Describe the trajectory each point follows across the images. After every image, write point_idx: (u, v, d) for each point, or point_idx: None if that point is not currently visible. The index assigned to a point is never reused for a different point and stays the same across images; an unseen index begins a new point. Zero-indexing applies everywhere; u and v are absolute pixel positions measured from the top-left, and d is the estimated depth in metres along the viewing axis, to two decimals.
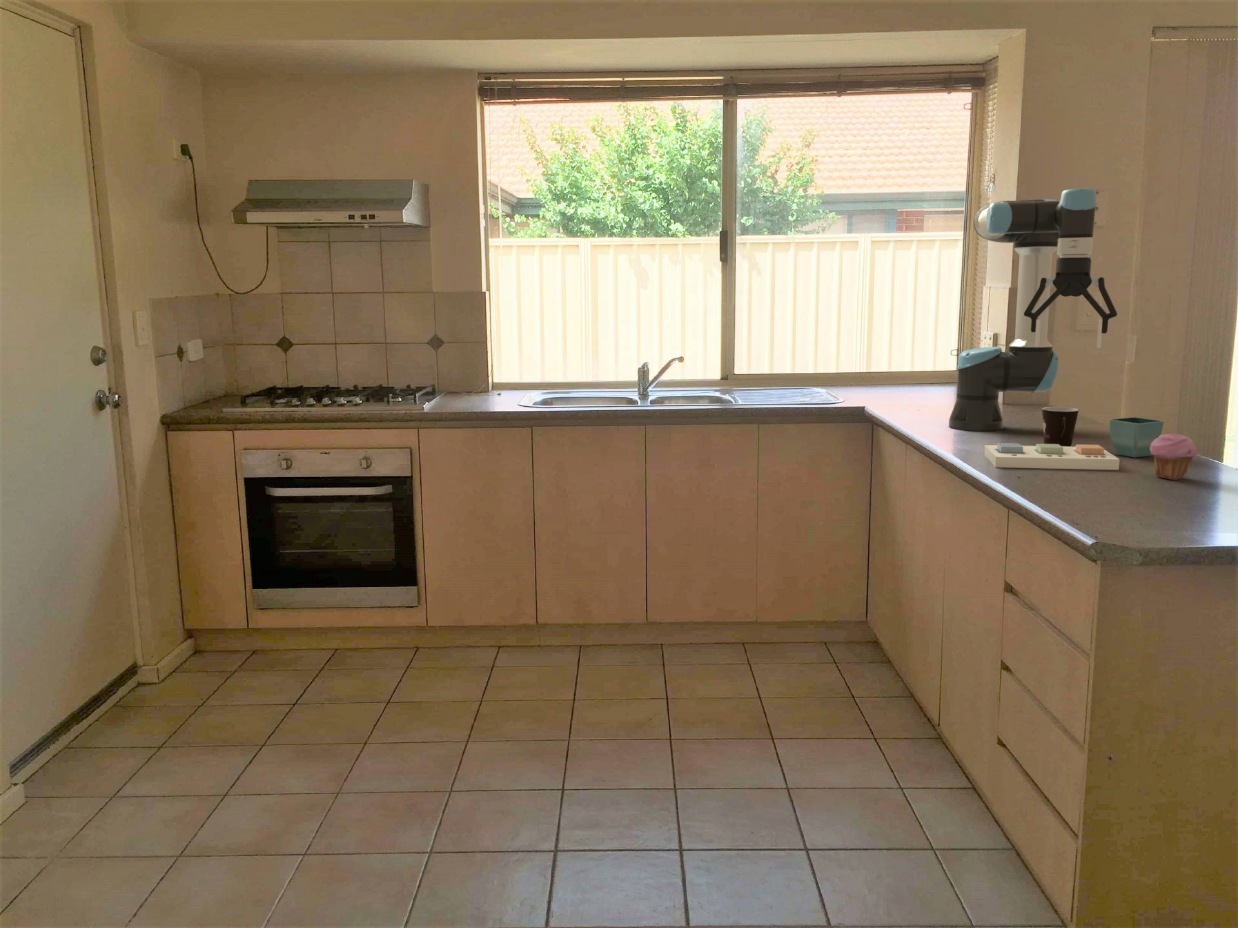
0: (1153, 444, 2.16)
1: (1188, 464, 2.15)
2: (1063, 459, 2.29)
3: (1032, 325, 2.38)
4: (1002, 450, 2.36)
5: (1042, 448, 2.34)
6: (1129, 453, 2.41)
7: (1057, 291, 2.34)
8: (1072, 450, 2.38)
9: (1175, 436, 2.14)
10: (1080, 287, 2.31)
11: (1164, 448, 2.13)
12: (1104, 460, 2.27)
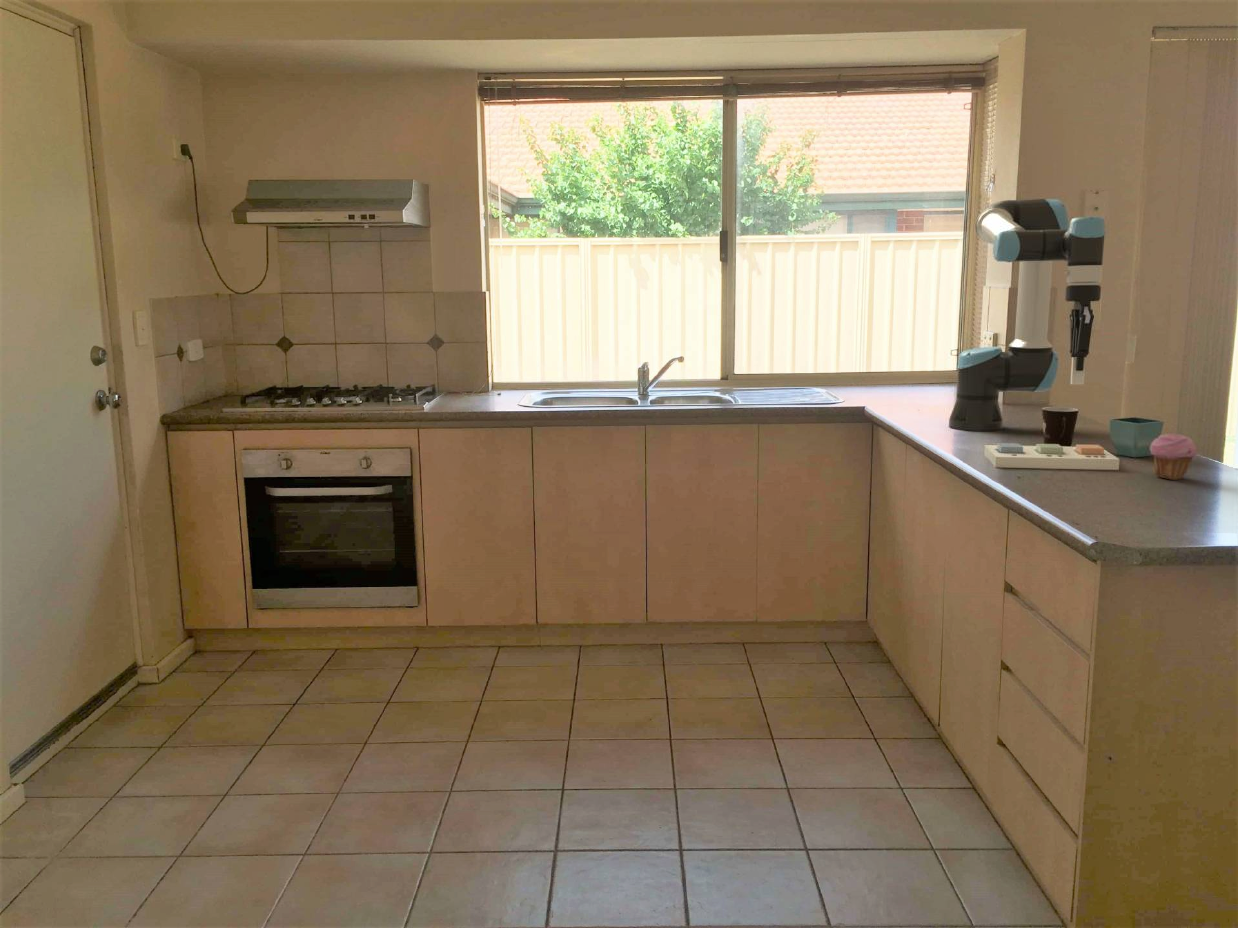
0: (1153, 444, 2.16)
1: (1188, 464, 2.15)
2: (1063, 459, 2.29)
3: None
4: (1002, 450, 2.36)
5: (1042, 448, 2.34)
6: (1129, 453, 2.41)
7: (1072, 321, 2.35)
8: (1072, 450, 2.38)
9: (1175, 436, 2.14)
10: (1074, 316, 2.32)
11: (1164, 448, 2.13)
12: (1104, 460, 2.27)
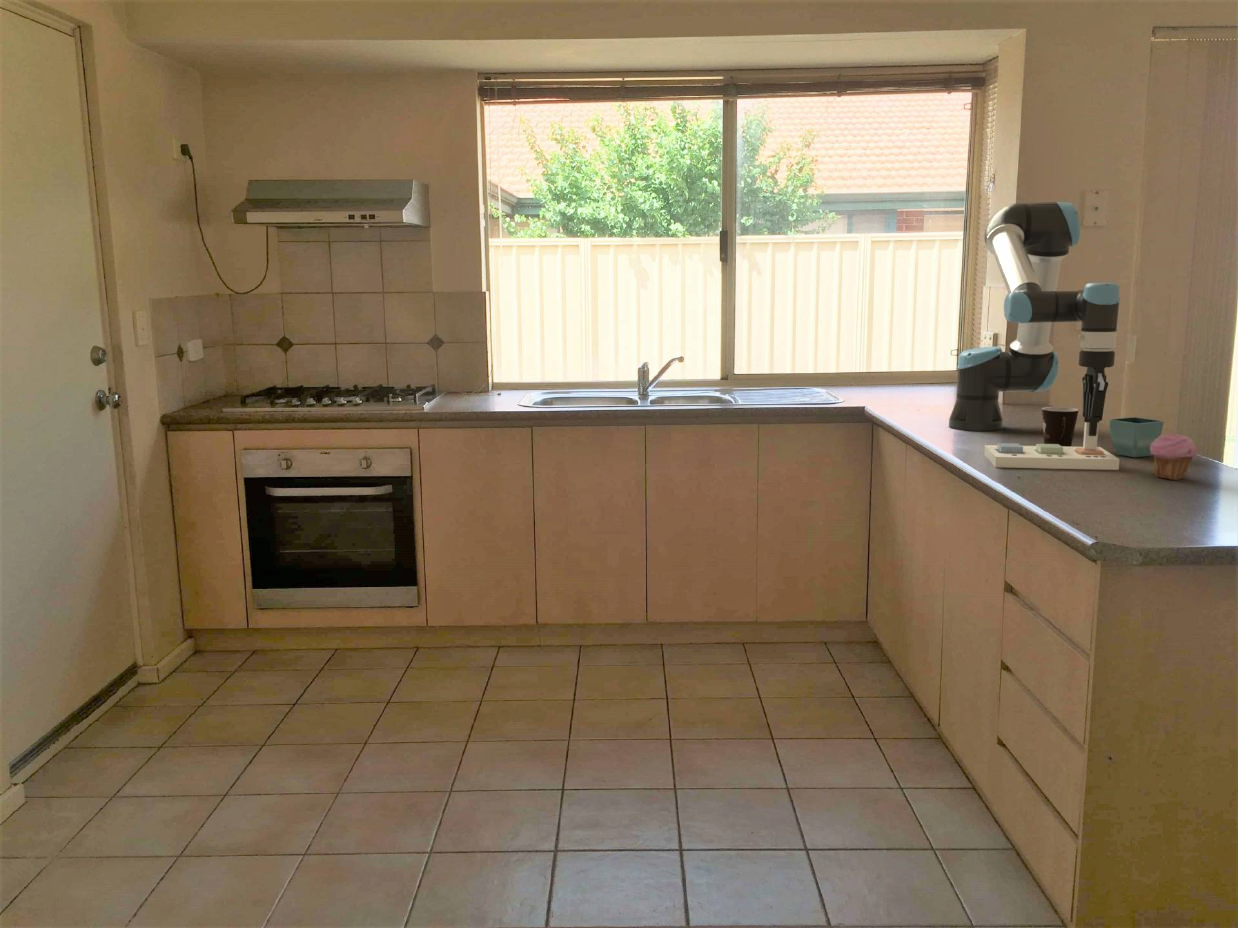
0: (1153, 444, 2.16)
1: (1188, 464, 2.15)
2: (1063, 459, 2.29)
3: None
4: (1002, 450, 2.36)
5: (1042, 448, 2.34)
6: (1129, 453, 2.41)
7: (1085, 385, 2.33)
8: (1072, 450, 2.38)
9: (1175, 436, 2.14)
10: (1088, 381, 2.30)
11: (1164, 448, 2.13)
12: (1104, 460, 2.27)
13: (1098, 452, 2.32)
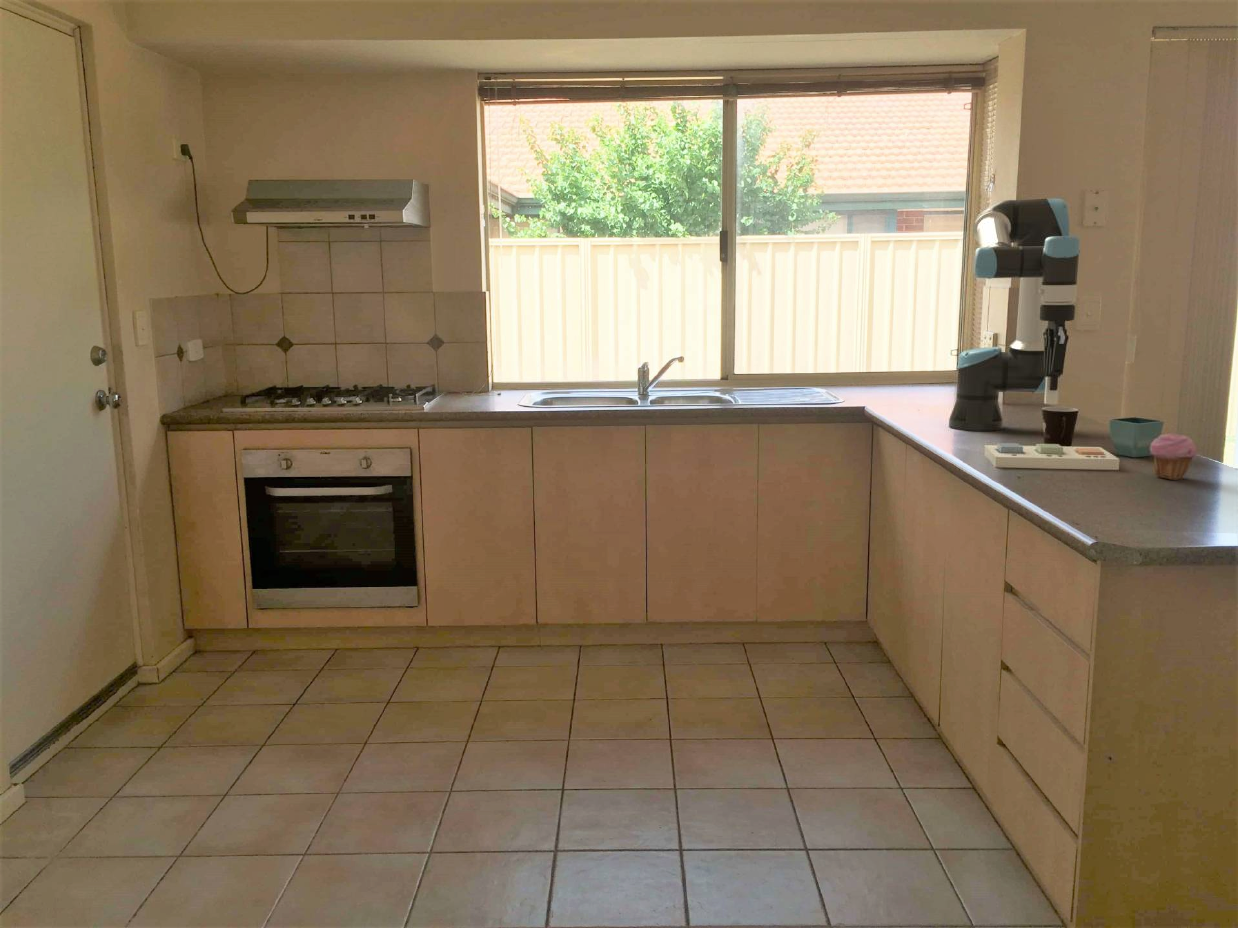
0: (1153, 444, 2.16)
1: (1188, 464, 2.15)
2: (1063, 459, 2.29)
3: None
4: (1002, 450, 2.36)
5: (1042, 448, 2.34)
6: (1129, 453, 2.41)
7: (1046, 340, 2.33)
8: (1072, 450, 2.38)
9: (1175, 436, 2.14)
10: (1048, 336, 2.30)
11: (1164, 448, 2.13)
12: (1104, 460, 2.27)
13: (1098, 452, 2.32)
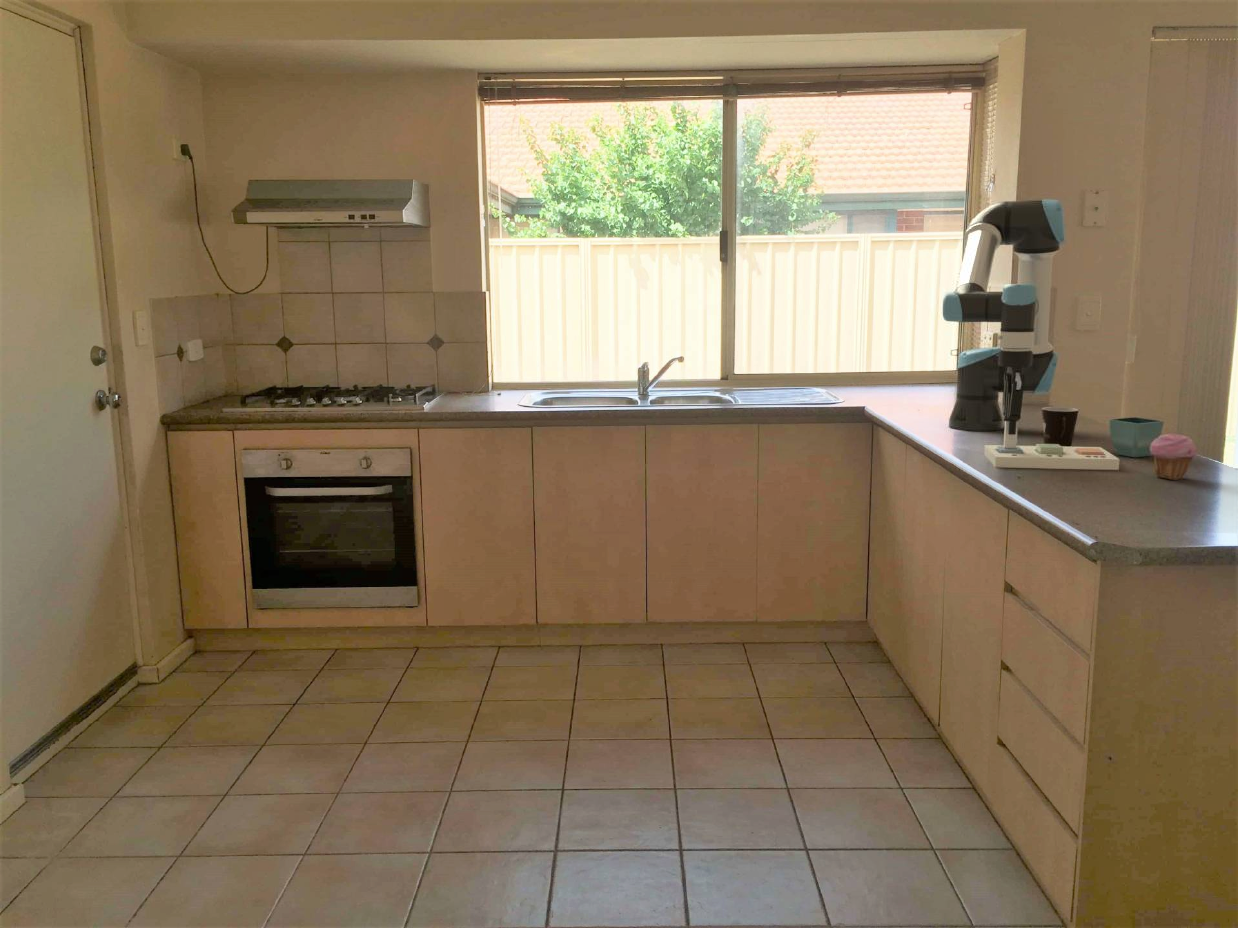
0: (1153, 444, 2.16)
1: (1188, 464, 2.15)
2: (1063, 459, 2.29)
3: None
4: None
5: (1042, 448, 2.34)
6: (1129, 453, 2.41)
7: (1005, 385, 2.37)
8: (1072, 450, 2.38)
9: (1175, 436, 2.14)
10: (1007, 381, 2.34)
11: (1164, 448, 2.13)
12: (1104, 460, 2.27)
13: (1098, 452, 2.32)
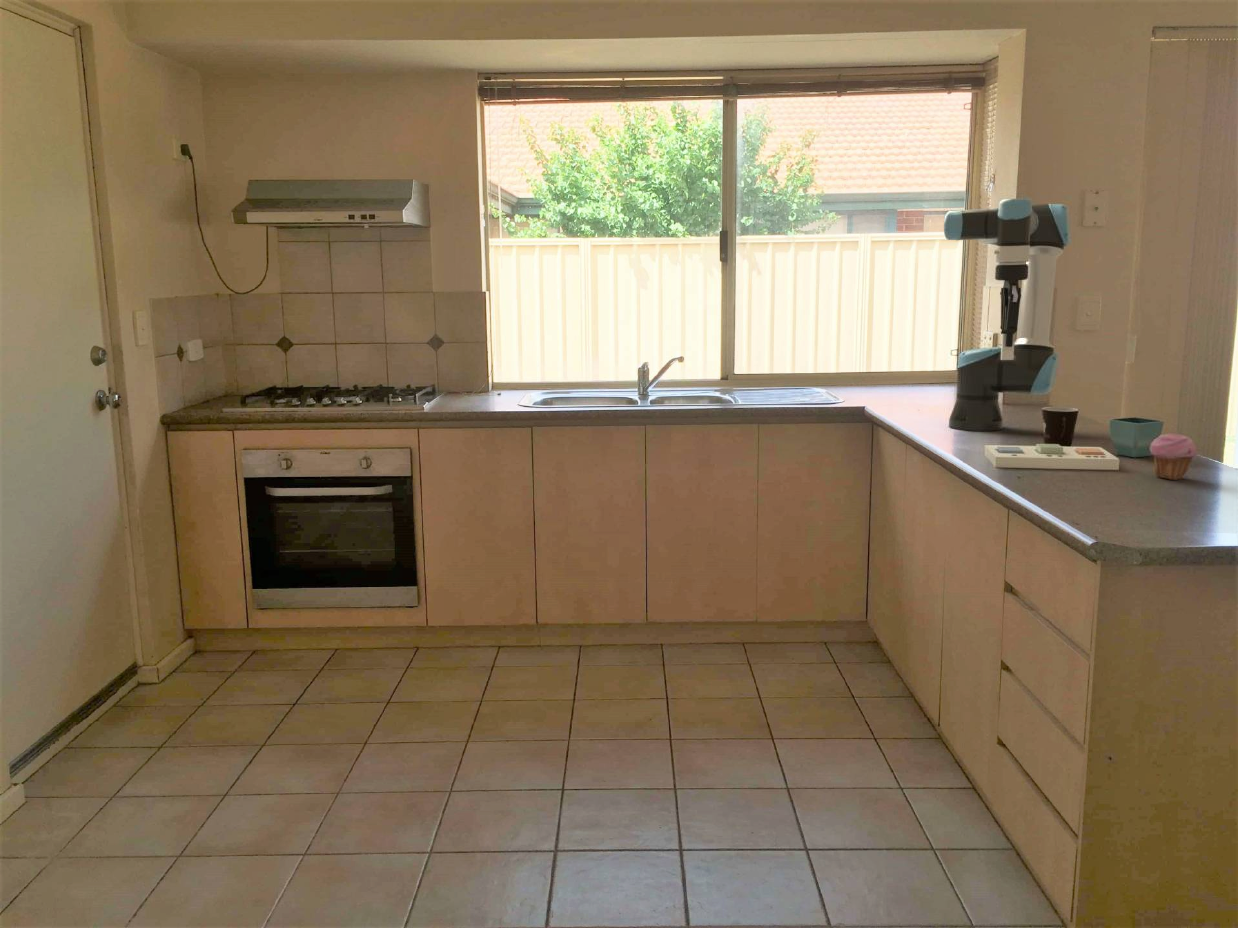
0: (1153, 444, 2.16)
1: (1188, 464, 2.15)
2: (1063, 459, 2.29)
3: None
4: None
5: (1042, 448, 2.34)
6: (1129, 453, 2.41)
7: (1001, 299, 2.45)
8: (1072, 450, 2.38)
9: (1175, 436, 2.14)
10: (1003, 294, 2.42)
11: (1164, 448, 2.13)
12: (1104, 460, 2.27)
13: (1098, 452, 2.32)
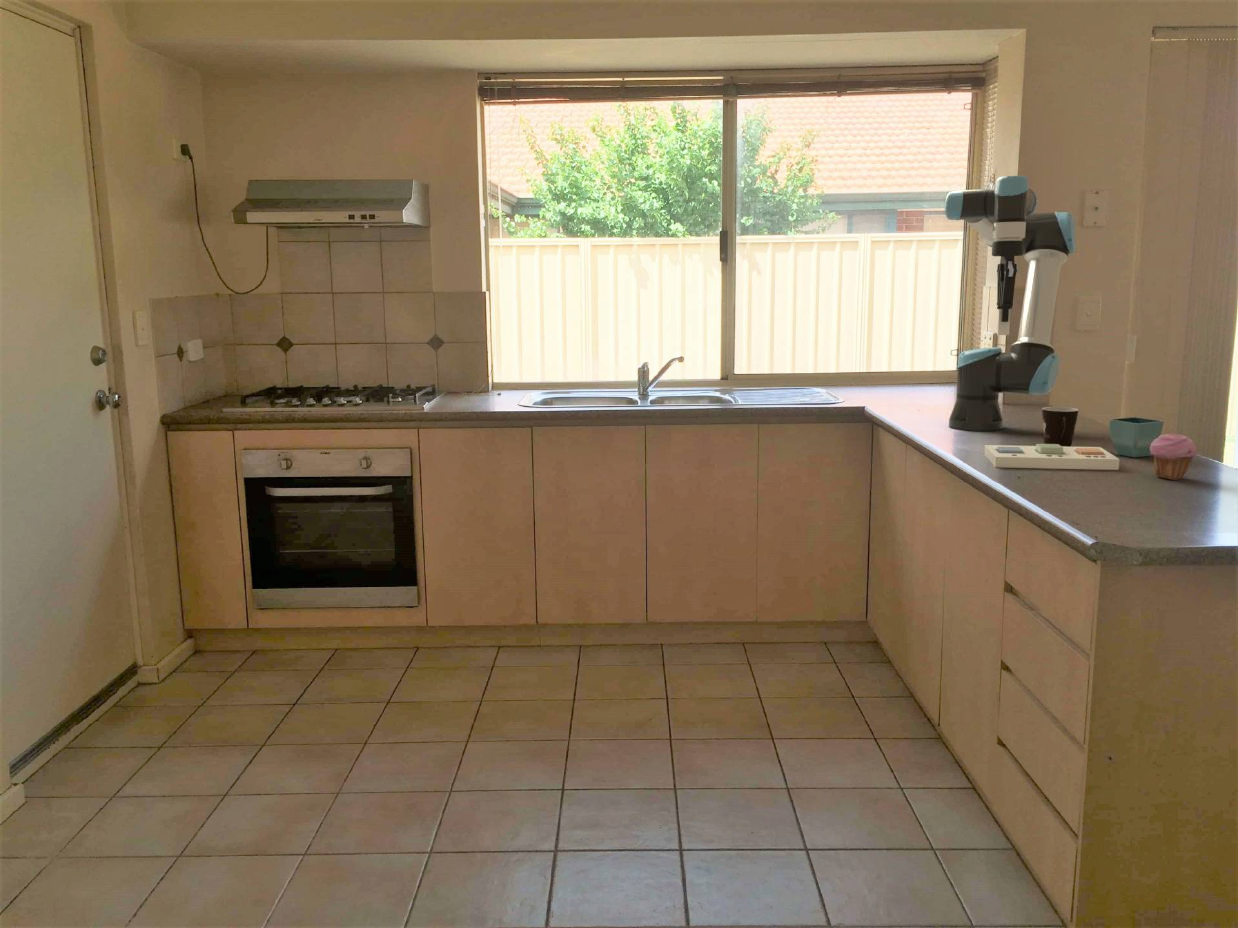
0: (1153, 444, 2.16)
1: (1188, 464, 2.15)
2: (1063, 459, 2.29)
3: None
4: None
5: (1042, 448, 2.34)
6: (1129, 453, 2.41)
7: (998, 275, 2.49)
8: (1072, 450, 2.38)
9: (1175, 436, 2.14)
10: (1000, 270, 2.46)
11: (1164, 448, 2.13)
12: (1104, 460, 2.27)
13: (1098, 452, 2.32)
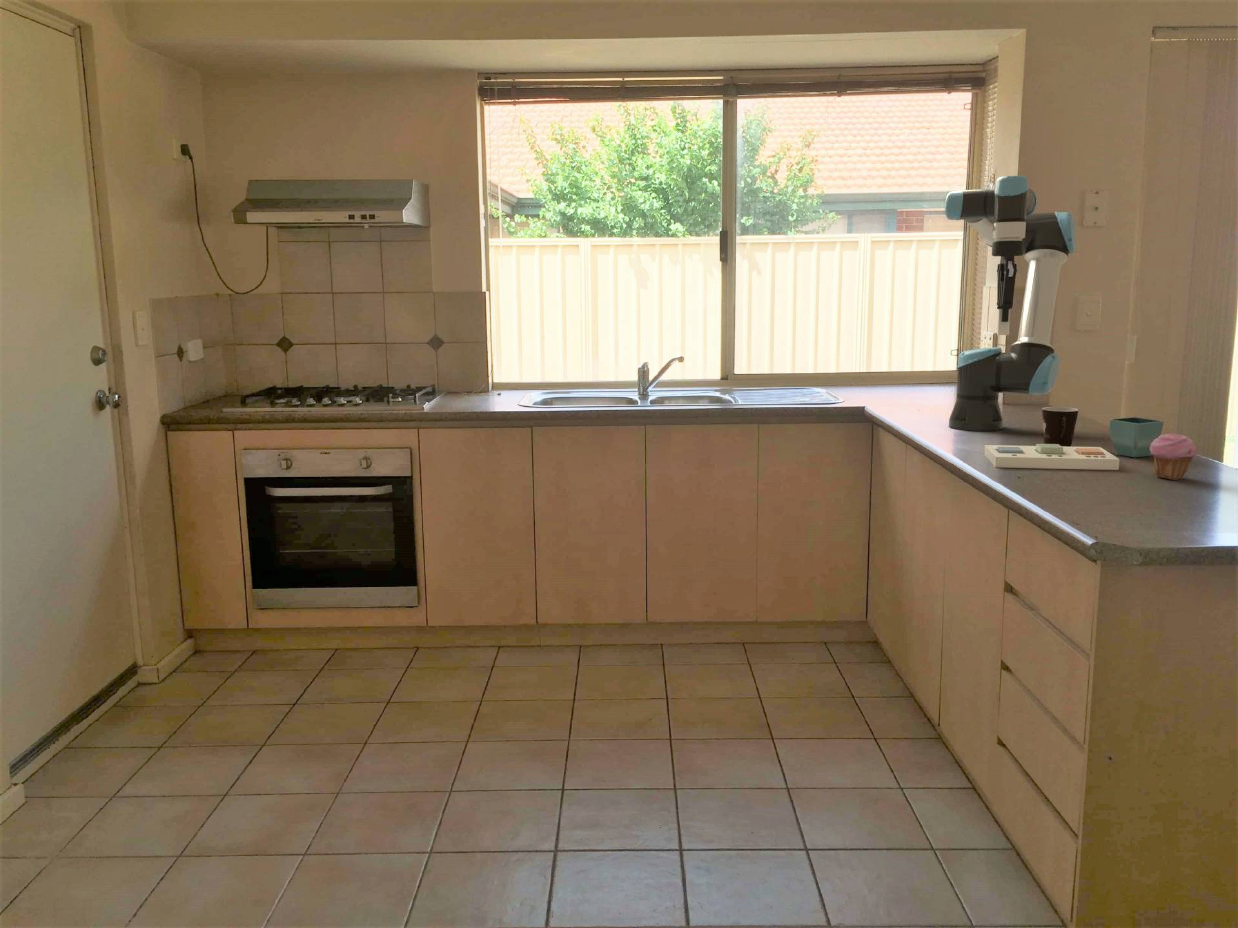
0: (1153, 444, 2.16)
1: (1188, 464, 2.15)
2: (1063, 459, 2.29)
3: None
4: None
5: (1042, 448, 2.34)
6: (1129, 453, 2.41)
7: (998, 275, 2.49)
8: (1072, 450, 2.38)
9: (1175, 436, 2.14)
10: (1000, 270, 2.46)
11: (1164, 448, 2.13)
12: (1104, 460, 2.27)
13: (1098, 452, 2.32)
